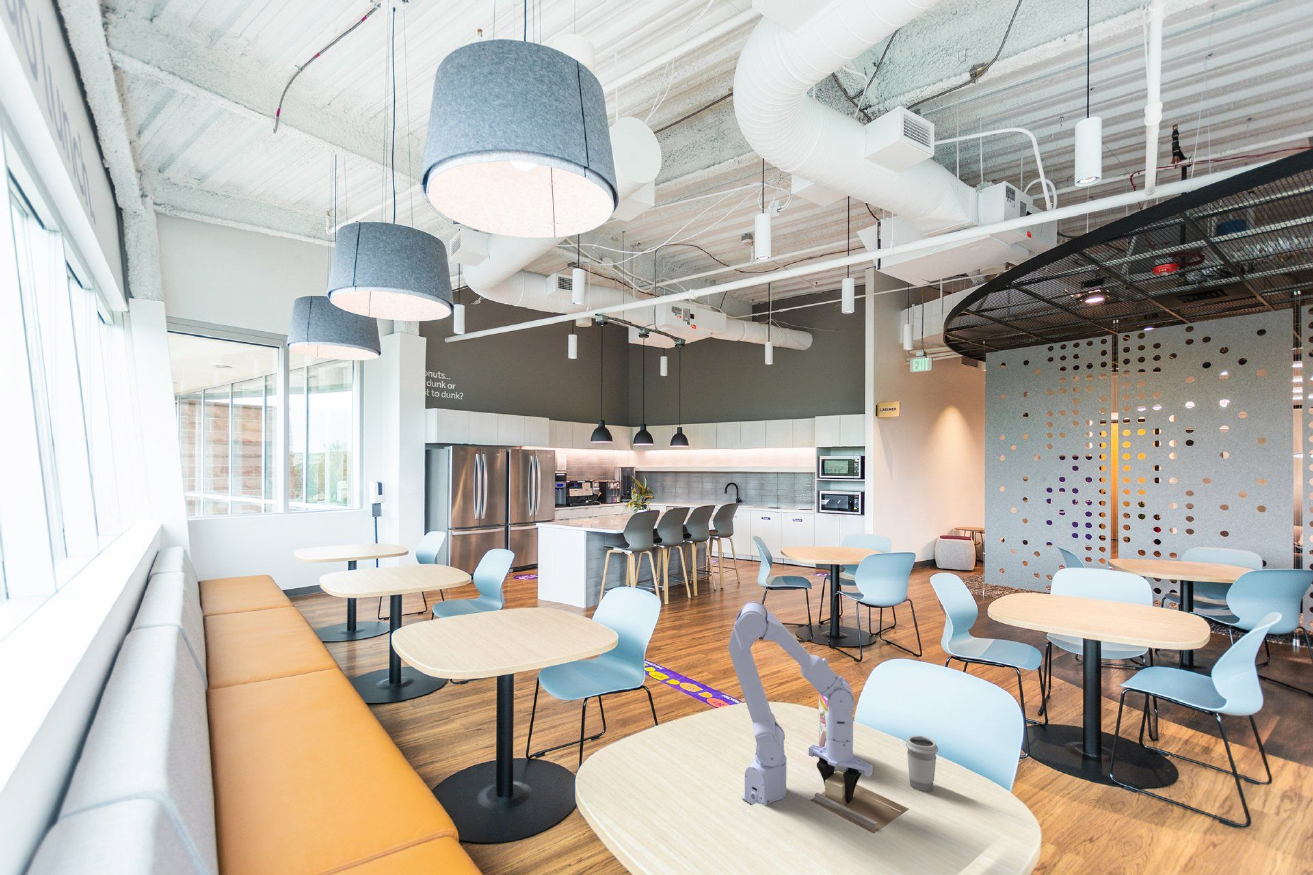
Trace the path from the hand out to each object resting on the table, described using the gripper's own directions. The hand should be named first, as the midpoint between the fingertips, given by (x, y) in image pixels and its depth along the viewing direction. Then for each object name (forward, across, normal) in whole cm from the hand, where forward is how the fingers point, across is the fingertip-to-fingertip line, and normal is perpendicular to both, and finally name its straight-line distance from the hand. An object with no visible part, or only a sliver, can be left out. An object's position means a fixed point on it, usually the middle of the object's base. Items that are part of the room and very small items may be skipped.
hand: (839, 796), depth 148 cm
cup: (+2, +12, +18) cm, 22 cm away
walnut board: (+2, +4, +1) cm, 5 cm away
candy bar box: (+2, -10, +16) cm, 19 cm away
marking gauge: (0, 0, +2) cm, 2 cm away
